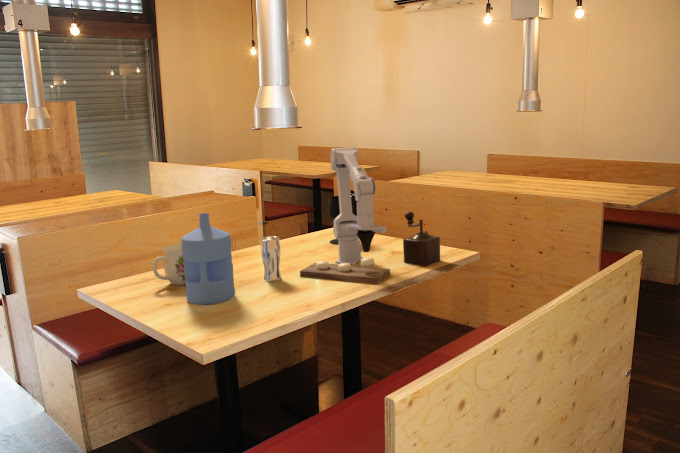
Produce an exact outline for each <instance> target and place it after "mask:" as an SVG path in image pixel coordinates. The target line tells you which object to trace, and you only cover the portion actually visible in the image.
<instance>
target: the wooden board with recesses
mask: <svg viewBox="0 0 680 453" xmlns="http://www.w3.org/2000/svg"><path fill="white" fill-rule="evenodd" d="M338 264H339V263H328V265H329V268H328V269H325V270H318V269H316V267H315V266H316V262H314V263H312V264H310V265H309V266H307V267H305V268H303V269H301V270H299V276H300V277H303V278H304V277H305V278H314V279H322V280H332V281H333V280H334V281H344V282H353V283H354V282H355V283H364V284H372V285H374V284H375V285H378V284H380V282H382V281H383V280H385V279H386V278H387V277H389V276H390V275H391V269H390V268H383V267H381V268H380V267H373V266H370V267H364V266H361V265H360V266H358V265H351V268H352V270H351V271H348V272H340V271H338ZM388 275H389V276H388Z"/></svg>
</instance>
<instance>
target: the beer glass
mask: <svg viewBox="0 0 680 453" xmlns="http://www.w3.org/2000/svg"><path fill="white" fill-rule="evenodd" d="M281 252H282V251H281V243H280V237H279V236H275V235H271V236H270V235H269V236H264V237H261V238H260V255H261V259H262V264H263V268H264V274H263V279H264V280H263V281H266V282H277V281H279V280H282V275H281V271H280V264H281Z"/></svg>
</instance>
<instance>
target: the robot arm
mask: <svg viewBox="0 0 680 453" xmlns="http://www.w3.org/2000/svg"><path fill="white" fill-rule="evenodd" d="M359 153H360V152H359V150H358V148H357V147H356V146H352V147H351V146H350V147H340V148H339V147H336V148H335V147H332V148H331V150H330V154H329V156H330V157H329V158H330V159H329V160H330V167H331V170H332V171H333V172H335V173H336V174H335V175H336V181H337V184H336V185H337V193H338V194H337V196H339V207H340V214H339V215H338V216H337V217H336V218H335V219H334V220H333V228H332V229H333V230H332V231H333V235H334V239H338V244H339V245H338V259H337V260H335V261H334V262H335V263H334V264H340V263H350V264H351V265H355V264H356V263H358V262H359V261H361V259H362V258H364V257H363V256H362V251H361V250H363V253H369V252H371V251H370V250H371V244H372V242H373V239H374V236H375V235H376V233H381V234H386V233H387V226H386V225H384V226H383V225H378V224H375V215H374V209H375V208H374V195H375V194H376V183H375V182H376V181H375V179H374V178H373V177H370V176H368V173H367V172H366V170H365V169H364V167H362V166H360V165H359V159H360V158H359V157H360V154H359ZM350 180H351V183H352V184H353V192H354V199H355V201H356V215H355V214H354V213H353V205H352V196H351V195H352V193H351V183H350ZM342 221H345V222H343V223H340V222H342ZM361 247H362V248H361Z"/></svg>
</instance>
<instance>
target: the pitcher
mask: <svg viewBox="0 0 680 453" xmlns="http://www.w3.org/2000/svg"><path fill="white" fill-rule="evenodd" d="M162 251H163V254H164V256H157V257H155V258H154V260H153V262H152V272H153V274H154V276H155V277H156V278H158V279H159V280H162V281H163V280H164V281H169V283H171V285H173V286H184V284H185V285H186V282H185V275H184V261H183V252H182V242H179V243H178V242H177V243H174V244H173V243H172V244H168V245H165V246H164V247H163V248H162ZM159 261H162V262H163V270H164V273H165V275H162V274H160V273H159V272H158V269H157V264H158V262H159Z"/></svg>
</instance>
